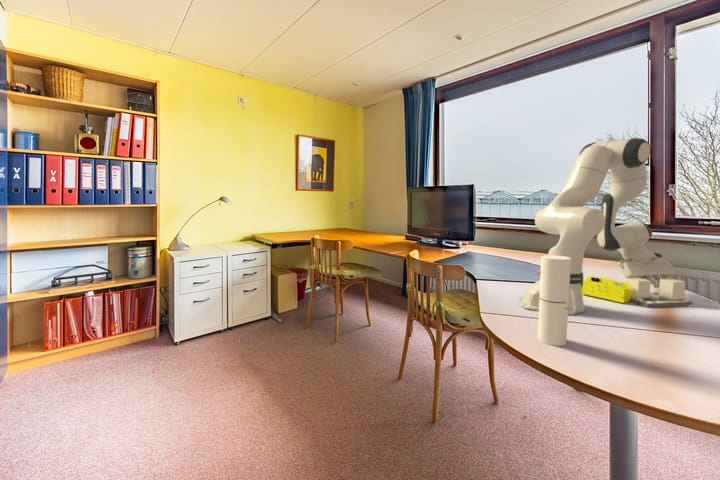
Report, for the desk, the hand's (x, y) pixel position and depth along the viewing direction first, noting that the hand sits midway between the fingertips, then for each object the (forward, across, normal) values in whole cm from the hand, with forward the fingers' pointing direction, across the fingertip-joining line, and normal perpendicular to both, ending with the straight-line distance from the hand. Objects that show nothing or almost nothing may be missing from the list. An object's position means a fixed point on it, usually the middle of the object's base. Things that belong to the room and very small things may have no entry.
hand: (660, 286), depth 123 cm
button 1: (+3, -11, +1) cm, 11 cm away
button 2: (+5, 0, -1) cm, 5 cm away
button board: (+5, -5, +2) cm, 8 cm away
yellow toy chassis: (+1, -20, +7) cm, 22 cm away
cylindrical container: (+26, -68, -19) cm, 75 cm away
